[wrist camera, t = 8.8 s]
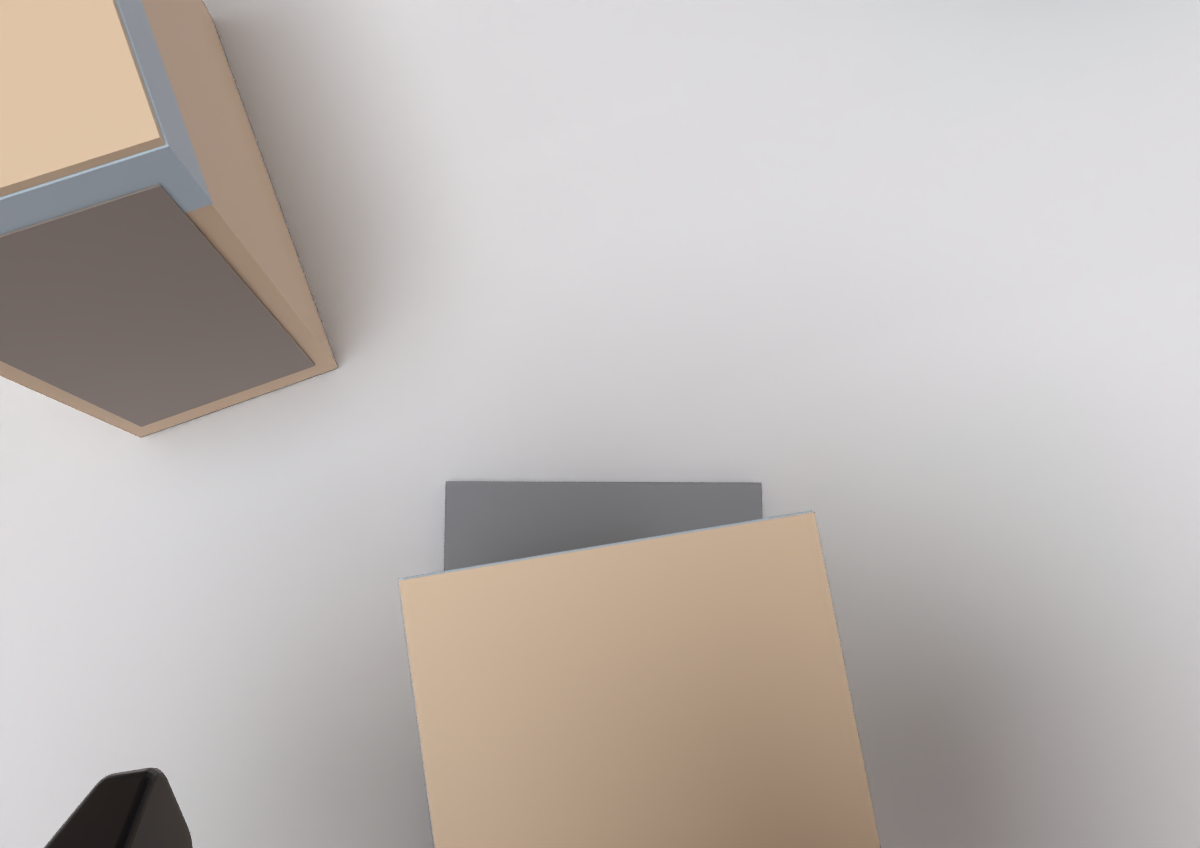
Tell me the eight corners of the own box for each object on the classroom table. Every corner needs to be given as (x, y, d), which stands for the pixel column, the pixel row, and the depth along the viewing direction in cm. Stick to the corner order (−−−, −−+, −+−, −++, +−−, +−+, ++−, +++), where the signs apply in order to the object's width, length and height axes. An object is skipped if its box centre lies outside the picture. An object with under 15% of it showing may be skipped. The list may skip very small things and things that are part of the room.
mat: (769, 904, 23) (774, 909, 22) (438, 913, 22) (436, 918, 22) (757, 484, 24) (760, 483, 24) (447, 483, 24) (446, 481, 23)
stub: (700, 745, 23) (894, 899, 11) (488, 785, 22) (450, 988, 10) (666, 556, 23) (816, 506, 12) (460, 590, 23) (395, 575, 11)
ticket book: (340, 370, 24) (164, 141, 12) (140, 440, 23) (-249, 272, 12) (213, 16, 25) (-60, -506, 13) (20, 75, 25) (-445, -416, 13)
